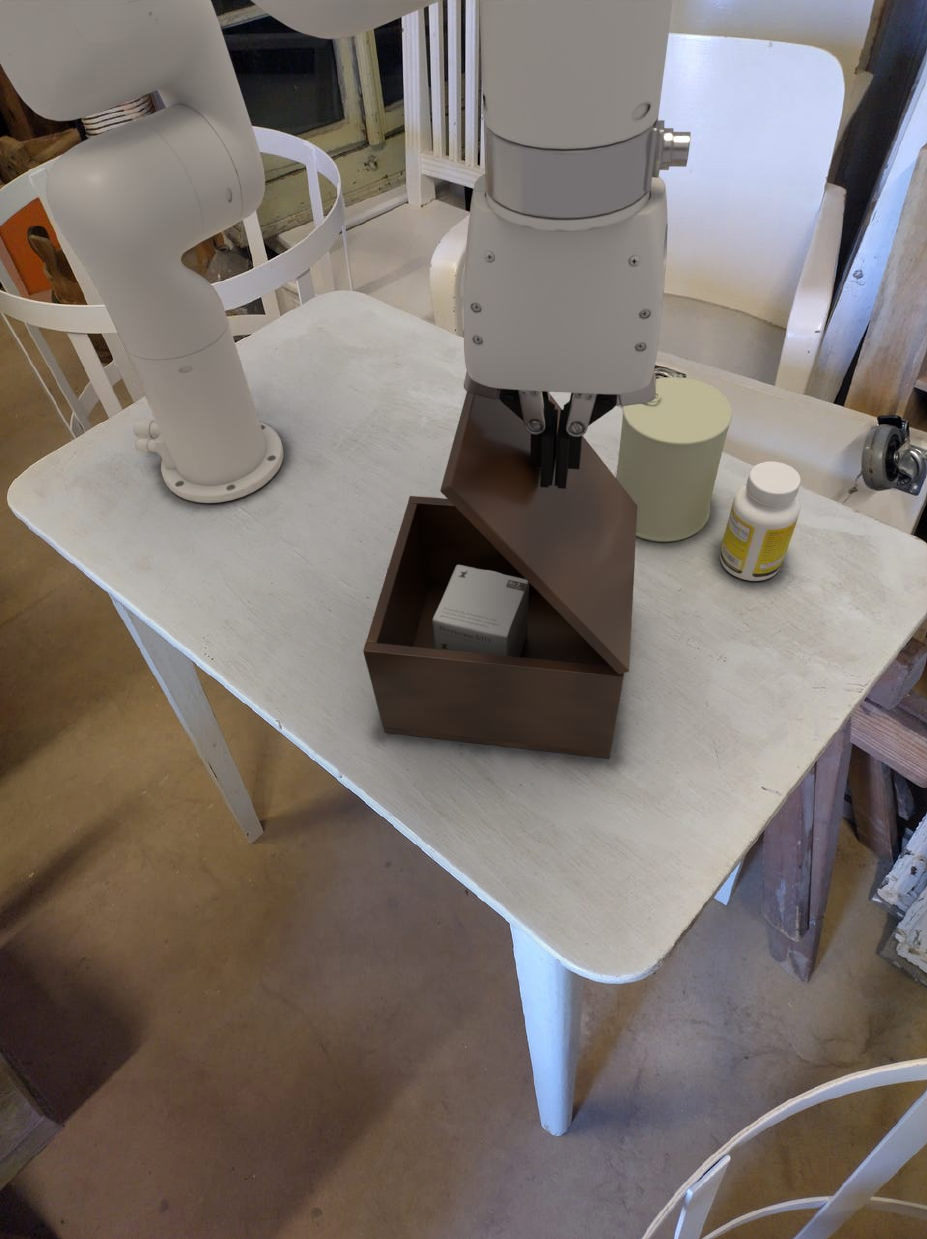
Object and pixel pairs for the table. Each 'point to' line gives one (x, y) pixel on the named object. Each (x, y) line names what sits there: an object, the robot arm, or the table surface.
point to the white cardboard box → (482, 613)
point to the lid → (549, 523)
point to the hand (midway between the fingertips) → (555, 472)
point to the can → (673, 456)
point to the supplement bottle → (761, 522)
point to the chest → (480, 683)
